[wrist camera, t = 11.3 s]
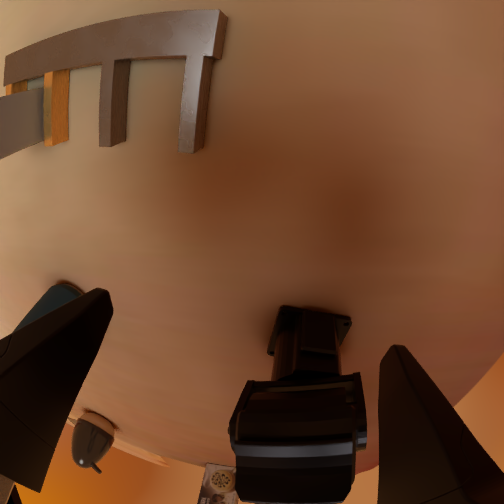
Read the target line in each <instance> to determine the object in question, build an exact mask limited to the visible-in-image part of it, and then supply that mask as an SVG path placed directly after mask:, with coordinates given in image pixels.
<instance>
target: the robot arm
mask: <svg viewBox="0 0 504 504" xmlns="http://www.w3.org/2000/svg"><path fill="white" fill-rule="evenodd" d="M284 312H286V313H284ZM112 316H113V306H112V302H111V298H110V294H109V292H108V291H107V290H105V289H102V288H95V289H93V290H91V291H89V292H87V293H85V294H83V295H81V296H79V297H77V298H76V299H74V300H72V301H70V302H68V303H66V304H64V305H62V306H60V307H59V308H57V309H55V310H53V311H51V312H49V313H47V314H46V315H44V316H42V317H40V318H38V319H36V320H35V321H33V322H31V323H29V324H27V325H26V326H24V327H22V328H20V329H18V330H17V331H15V332H13V334H10V335H8V336H6V337H4V338H3V339H1V340H0V504H22V502H21V499H20V497H19V494H18V491H17V488H16V485H15V482H16V483H18V484H21V485H23V486H25V487H27V488H29V489H31V490H34V491H36V492H38V493H40V492H41V489H42V486H43V483H44V480H45V477H46V474H47V471H48V468H49V465H50V462H51V459H52V457H53V454H54V451H55V448H56V446H57V443H58V440H59V438H60V435H61V433H62V430H63V428H64V425H65V423H66V421H67V418H68V416H69V413H70V411H71V409H72V406H73V404H74V402H75V400H76V397H77V395H78V393H79V391H80V389H81V387H82V384H83V382H84V380H85V378H86V376H87V374H88V372H89V370H90V368H91V366H92V364H93V362H94V360H95V358H96V355H97V353H98V351H99V349H100V346H101V343H102V341H103V338H104V336H105V333H106V331H107V328H108V325H109V323H110V321H111V318H112ZM345 322H347V323H345ZM351 325H352V321H351V318H350V317H346V316H339V315H333V314H327V313H321V312H315V311H309V310H304V309H298V308H292V307H287V306H283V307H280V308H279V311H278V315H277V318H276V322H275V325H274V329H273V332H272V336H271V339H270V342H269V346H268V350H267V354H268V355H270V356H274V362H273V370H272V377H271V381H255V380H248V381H247V383H246V385H245V387H244V389H243V391H242V393H241V396H240V398H239V401H238V403H237V405H236V408H235V410H234V412H233V415H232V417H231V419H230V422H229V427H228V434H229V435H230V443H231V447H232V450H233V451H234V453H235V455H236V478H235V491H236V493H237V495H238V496H239V498H240V500H241V501H242V502H249V503H255V504H337V503H342V502H343V501H344V500H345V498H346V497H347V495H348V493H349V492H350V490H351V485H352V484H353V482H354V479H355V460H356V451H357V452H358V451H365V450H366V443H367V418H366V408H365V401H364V394H363V388H362V381H361V375H360V372H356V373H353V374H349V375H342V372H341V358H340V345H341V344H342V342H343V340H344V338H345V336H346V334H347V332H348V331H349V329H350V327H351ZM378 420H379V484H378V501H377V504H504V473H503V472H502V471H501V469H500V468H499V467H498V466H497V464H496V463H495V462H494V461H493V460H492V458H490V456H489V455H488V454H487V452H486V451H485V450H484V449H483V447H482V446H481V445H480V444H479V442H478V441H477V440H476V438H475V437H474V436H473V434H472V433H471V432H470V430H469V429H468V427H467V426H466V425H465V424H464V422H463V420H462V419H461V418H460V416H459V415H458V414H457V412H456V411H455V410H454V408H453V407H452V405H451V404H450V403H449V401H448V400H447V399H446V397H445V396H444V395H443V393H442V392H441V391H440V390H439V388H438V387H437V386H436V384H435V383H434V382H433V381H432V379H431V378H430V377H429V375H428V374H427V373H426V372H425V370H424V369H423V368H422V367H421V365H420V364H419V363H418V362H417V360H416V359H415V358H414V357H413V355H412V354H411V353H410V352H409V350H408V349H407V348H406V347H405V346H403V345H395V344H394V345H392V346H391V347H390V348H389V350H388V351H387V353H386V354H385V356H384V357H383V359H382V360H381V363H380V372H379V399H378Z"/></svg>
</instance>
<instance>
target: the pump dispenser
mask: <svg viewBox="0 0 504 504" xmlns="http://www.w3.org/2000/svg"><path fill="white" fill-rule="evenodd" d="M113 442H114V429H113V426H112V425H111V423H110V422H109V421H108V420H106V419H105V418H103V417H102V416H100V415H98V414H95V413H86V414H84V415H82V416H81V417H80V418H78V419H77V421H76V424H75V427H74V431H73V435H72V442H71V453H72V458H73V460H74V462H75V463H76V464H77V465H78V466H79V467H82V468H90V467H92V468H93V469H94V470H95V471H96V472H98V473H99V474H101V473H102V472H101V470H100V469H99V468H98V467H97V465H96V464H97V463H98V462H99V461H100V460H101V459H102V458H103V457H104V456H105V455H106V453H107V452H108V451H109V449H110V448H111V446H112V444H113Z"/></svg>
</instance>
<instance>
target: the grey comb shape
mask: <svg viewBox="0 0 504 504" xmlns="http://www.w3.org/2000/svg"><path fill="white" fill-rule="evenodd" d="M227 19H228V17H227V16H226V15H225V14H224V13H223V12H222V11H221V10H184V11H170V12H160V13H151V14H144V15H137V16H131V17H125V18H120V19H115V20H110V21H105V22H101V23H97V24H93V25H89V26H85V27H82V28H78V29H75V30H71V31H68V32H65V33H62V34H59V35H56V36H53V37H50V38H47V39H45V40H42V41H39V42H37V43H34V44H32V45H30V46H27V47H25V48H22V49H20V50H18V51H16V52H14V53H11V54H9V55H7V56H6V58H5V70H4V86H6V95H10V94H15V93H19V92H23V91H27V81H28V80H31V79H35V78H38V77H42V76H44V101H43V116H44V143H45V146H54V145H56V144H59V143H61V142H64V141H67V140H68V89H69V72H70V70H72V69H77V68H82V67H88V66H94V65H100V64H102V70H101V83H100V102H99V147H112V146H114V145H116V144H119V143H121V142H124V141H126V113H127V94H128V81H129V69H130V61H134V60H148V59H171V58H186V65H185V73H184V82H183V92H182V102H181V113H180V125H179V139H178V152H182V153H191V154H194V153H195V152H197V151H198V150H200V149H201V148H203V145H204V134H205V124H206V115H207V105H208V97H209V88H210V80H211V73H212V65H213V59H221V57H222V50H223V44H224V37H225V31H226V25H227Z"/></svg>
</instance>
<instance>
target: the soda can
mask: <svg viewBox="0 0 504 504" xmlns="http://www.w3.org/2000/svg"><path fill="white" fill-rule="evenodd" d="M81 295H83V293H82V292H81V291H80V290H78V289H77V288H75V287H74V286H72V285H69V284H59V285H54V286H52V287H51V288H50V289H49V290H48V291H47V292H46V293H45V294H44V295H43V296H42V297H41V299H40V300H39V301H38V302H37V303H36V304H35V306H34V307H33V308H32V309H31V310H30V311H29V313H28V314H27V315H26V316H25V317H24V319H23V320H22V321H21V322H20V324H19V325H18V326H17V327H16V329H15V330H14V331H13V332H15V331H17V330H18V329H20V328H22V327H24V326H26V325H27V324H29V323H31V322H33V321H35V320H36V319H38V318H40V317H42V316H44V315H46V314H47V313H49V312H51V311H53V310H55V309H57V308H59V307H60V306H62V305H64V304H66V303H68V302H70V301H72V300H74V299H76V298H77V297H79V296H81ZM13 332H12V334H13Z"/></svg>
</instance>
